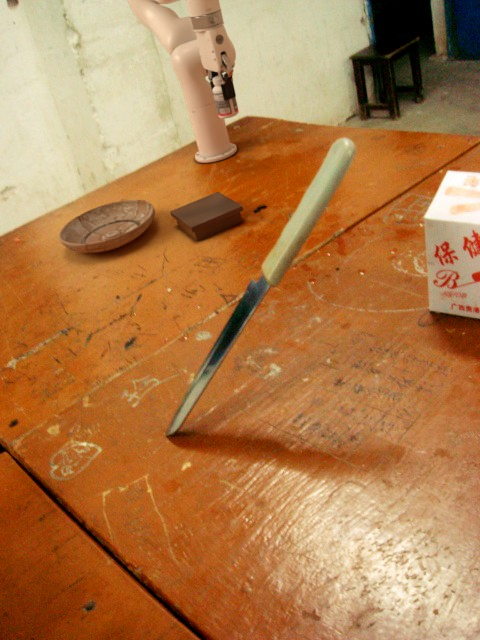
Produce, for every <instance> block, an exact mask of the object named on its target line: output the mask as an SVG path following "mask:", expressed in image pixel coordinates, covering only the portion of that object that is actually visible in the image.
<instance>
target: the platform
mask: <svg viewBox="0 0 480 640" xmlns="http://www.w3.org/2000/svg"><path fill="white" fill-rule="evenodd" d="M241 212H244V207H243V205H241V204H240V203H238V202H236V201H235V200H234V199H231V198H230V197H228V196H227V195H225V194H223V193H221V192H220V191H215V192H213V193H211V194H208V195H206V196H204V197H202V198H199V199H197V200H194V201H191V202H189V203H186V204H185V205H182V206H179V207H177V208H175V209H173V210H170V211H169V214H170V216H171V217H172V218H173V219H174V220H175V221H176V224H177V227H178V228H180V229H181V230H182V231H183V232H184V233H186V234H187V235H189V237H191V238H192V239H194V240H195V241H196V242H199V241H201V240H205V239H207V238H208V237H211V236H214V235H215V234H219V233H220V232H223V231H224V230H226V229H229V228H232V227H234V226H236V225H238V224H241V223H243V220H242V215H241Z"/></svg>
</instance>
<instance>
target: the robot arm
mask: <svg viewBox="0 0 480 640" xmlns="http://www.w3.org/2000/svg"><path fill="white" fill-rule="evenodd" d="M126 1H127V3H128V6H129V8H130V9H131V11H132V13H133V15H134V16H135V18H136V19H137V20H138V21H139V22H140V23H141V24H142V25H143V26H144V27H145V28H147V29H148V30H149V31H151V33H152V34H153V35H154V36H155V38H156V39H157V41H158V42H159V43H160V44H161V46H162V47H163V48H164V50H165V51H166V52H167V53H168V55H170V62H171V67H172V69H173V71H174V74H175V76H176V78H177V81H178V82H179V86H180V89H181V91H182V94H183V98H184V102H185V105H186V109H187V112H188V116H189V120H190V123H191V127H192V132H193V135H194V140H195V142H196V147H197V150H198V151H197V152H196V153H195V154H194V159H195V161H196V162H197V163H200V164H208V163H209V164H210V163H215V162H220V161H223V160H225V159H228V158H230V157H232V156H233V155H234V154H235V153H236V152H237V150H238V148H237V145H236V144H235V143H232V142H231V140H230V137H229V132H228V128H227V123H226V120H225V119H226V118H225V119H222V118H219V116H218V112H217V108H216V104H215V100H214V96H213V91H212V90H213V88H214V87H215V85H214V84H213V80H212V79H213V78H214V77H216V76H219V77H220V80H221V83H222V84H221V89H222V94H223V98H224V100H225V101H227V100H229V99H232V98H235V97H237V95H236V90H235V85H234V77H233V76H234V71H235V70H234V68H235V66H236V57H237V56H236V55H237V54H236V49H235V46H234V43H233V42H232V40H231V38H230V37H229V35H228V33H227V30H226V27H225V21H224V17H223V13H222V7H221V3H220V0H185V2H186V5H187V10H188V14H189V15H187V16H183V17H179V15H178V14H177V12H175V11H174V10H173V9H171V8H169V7H168V6H166V5H169V4H172V3H176V2H179V1H180V0H126ZM223 74H224V77H223ZM206 78H208V79H206Z"/></svg>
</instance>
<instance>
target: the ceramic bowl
mask: <svg viewBox="0 0 480 640" xmlns="http://www.w3.org/2000/svg"><path fill="white" fill-rule="evenodd" d="M155 215H156V210H155V207H154V206H153V204H152V203H151V202H150V201H146V200H142V199H125V200H119V201H113V202H109V203H105V204H102V205H99V206H96V207H94V208H91V209H89V210H87V211H85V212H83V213H80V214H79V215H77V216H75V217H74V218H72V219H71V220H70V221H68V222H67V223H66V224H64V226H63V227H62V228H61V230H60V231H59V234H58V239H59V241H60V243H61V244H62V245H63V246H64V247H66V248H67V249H69V250H70V251H72V252H73V251H74V252H77V253H85V254H94V253H96V254H97V253H103V252H108V251H112V250H115V249H118V248H120V247H121V248H122V246H125V245H127V244H129V243H131V242H132V241H135V239H137V238H138V237H139V236H141V235H142V234H143V233H144V232H146V231H147V229H148V228H149V227H150V226H151V224H152V223H153V221H154V219H155Z"/></svg>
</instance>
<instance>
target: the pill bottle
mask: <svg viewBox="0 0 480 640" xmlns="http://www.w3.org/2000/svg"><path fill="white" fill-rule="evenodd" d="M222 74H223V77H224V74H225V73H222ZM212 80H213V84H214V85H215V87H214V88H213V90H212V91H213V96H214V100H215V104H216V108H217V112H218V116H219V118H222V119H230V118H233V117H236V116H237V115H239V113H240V111H239V107H238V102H237V98H236V97H237V96H236V97H235V98H232V99H229V100H227V101H225V100H224V98H223V94H222V89H221V84H222V83H221V80H220V77H219V76H216V77H214V78H213V79H212Z"/></svg>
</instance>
